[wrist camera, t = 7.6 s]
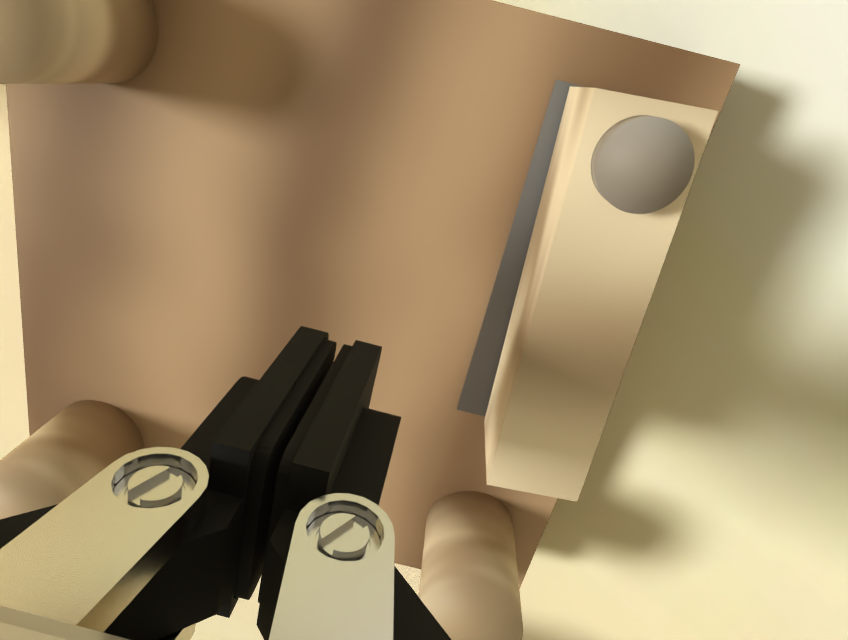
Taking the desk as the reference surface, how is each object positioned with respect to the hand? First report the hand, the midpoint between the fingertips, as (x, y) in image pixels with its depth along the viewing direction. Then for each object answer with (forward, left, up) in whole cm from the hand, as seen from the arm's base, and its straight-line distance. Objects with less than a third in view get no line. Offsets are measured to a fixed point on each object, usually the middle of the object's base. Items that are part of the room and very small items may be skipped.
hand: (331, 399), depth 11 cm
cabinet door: (-2, -5, -5) cm, 7 cm away
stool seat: (+1, +2, -8) cm, 8 cm away
